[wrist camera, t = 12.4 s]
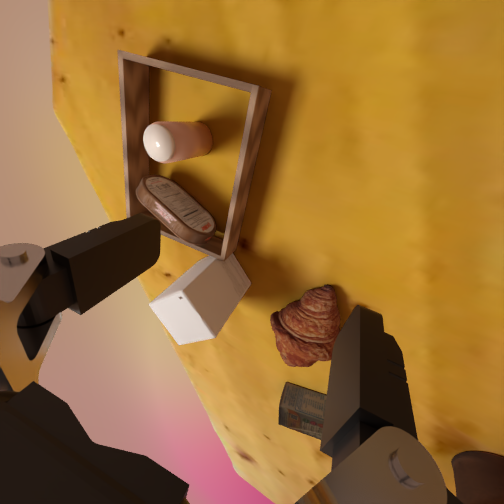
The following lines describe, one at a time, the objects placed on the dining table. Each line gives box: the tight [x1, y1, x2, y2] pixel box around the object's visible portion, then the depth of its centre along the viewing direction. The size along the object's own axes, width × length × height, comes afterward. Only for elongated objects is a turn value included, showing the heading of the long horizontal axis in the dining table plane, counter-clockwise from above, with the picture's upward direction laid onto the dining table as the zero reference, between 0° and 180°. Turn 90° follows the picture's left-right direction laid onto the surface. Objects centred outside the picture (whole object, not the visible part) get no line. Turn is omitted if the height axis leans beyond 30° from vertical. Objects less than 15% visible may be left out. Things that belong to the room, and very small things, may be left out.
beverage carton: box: [279, 382, 327, 440], centre depth 54 cm, size 8×19×7 cm, turn 91°
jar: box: [143, 122, 213, 163], centre depth 36 cm, size 5×5×10 cm
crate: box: [118, 50, 272, 261], centre depth 40 cm, size 26×21×5 cm
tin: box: [136, 175, 216, 245], centre depth 42 cm, size 15×3×8 cm, turn 53°
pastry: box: [270, 285, 340, 367], centre depth 45 cm, size 17×15×8 cm
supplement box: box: [149, 253, 251, 345], centre depth 44 cm, size 9×9×15 cm
